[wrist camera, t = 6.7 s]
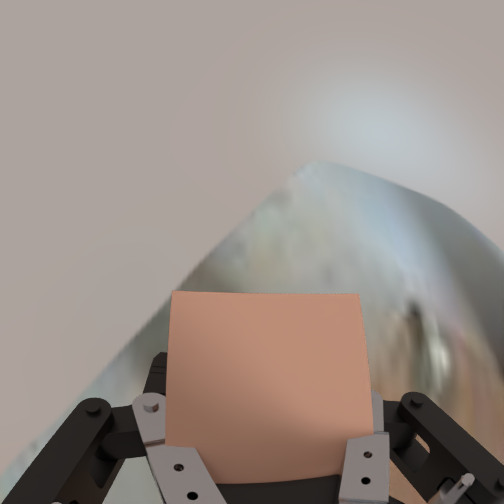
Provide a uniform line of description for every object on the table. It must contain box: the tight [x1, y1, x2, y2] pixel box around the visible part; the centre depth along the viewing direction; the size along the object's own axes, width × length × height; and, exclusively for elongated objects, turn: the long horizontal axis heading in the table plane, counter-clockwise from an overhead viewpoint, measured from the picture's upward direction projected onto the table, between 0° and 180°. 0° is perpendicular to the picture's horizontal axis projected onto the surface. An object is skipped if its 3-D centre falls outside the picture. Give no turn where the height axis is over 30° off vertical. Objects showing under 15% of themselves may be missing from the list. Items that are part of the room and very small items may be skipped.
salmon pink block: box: [165, 291, 374, 484], centre depth 12 cm, size 6×6×10 cm
